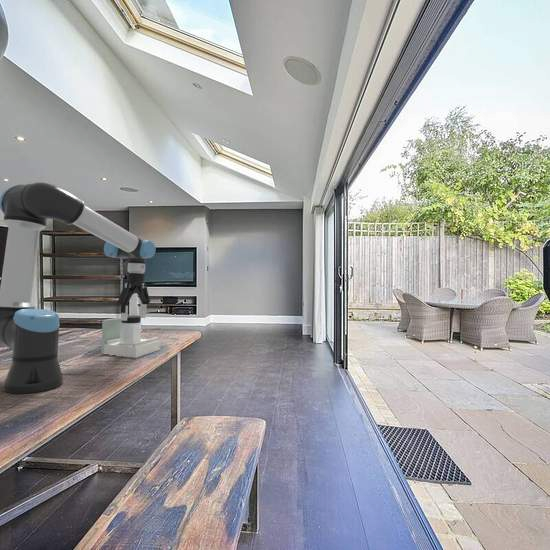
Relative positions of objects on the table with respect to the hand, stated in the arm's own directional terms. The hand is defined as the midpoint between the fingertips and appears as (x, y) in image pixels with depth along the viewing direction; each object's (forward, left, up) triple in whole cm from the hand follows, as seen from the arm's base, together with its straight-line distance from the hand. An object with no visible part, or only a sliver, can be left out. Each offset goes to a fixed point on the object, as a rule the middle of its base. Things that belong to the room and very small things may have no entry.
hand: (133, 319), depth 159 cm
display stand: (0, 0, -15) cm, 15 cm away
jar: (-2, 0, -11) cm, 11 cm away
